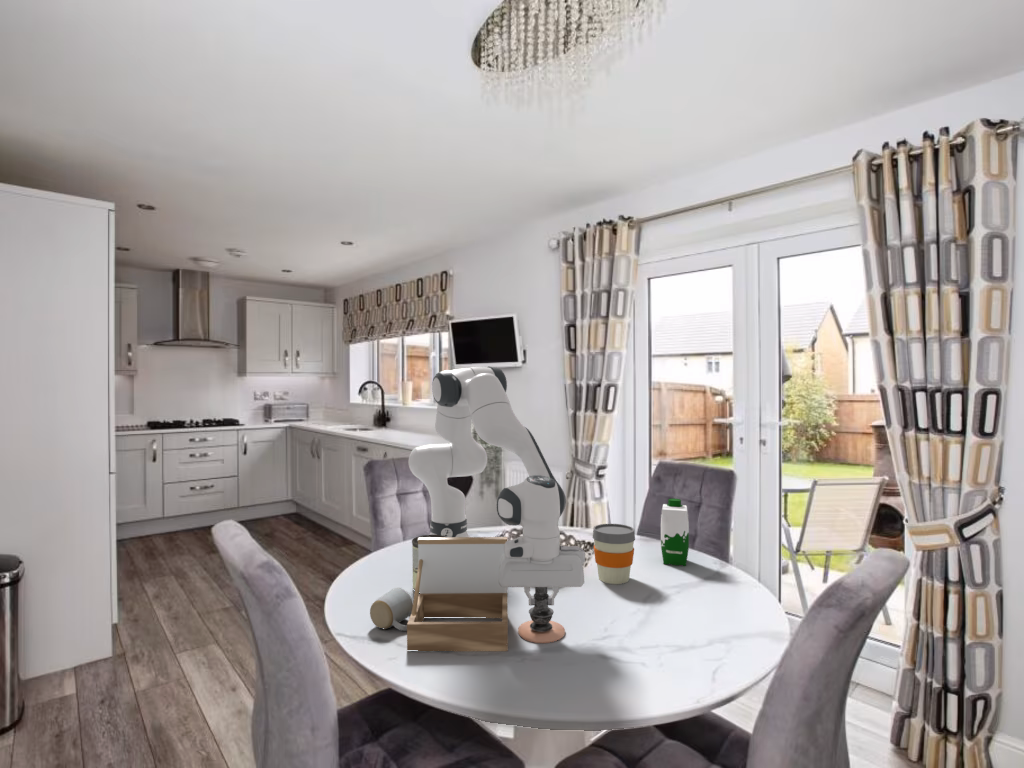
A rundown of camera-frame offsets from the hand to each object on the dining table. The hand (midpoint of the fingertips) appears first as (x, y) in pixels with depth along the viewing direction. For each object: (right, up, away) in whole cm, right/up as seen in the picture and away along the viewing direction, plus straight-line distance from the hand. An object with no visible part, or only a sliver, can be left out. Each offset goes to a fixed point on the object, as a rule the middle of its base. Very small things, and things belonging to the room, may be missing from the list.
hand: (541, 604), depth 129 cm
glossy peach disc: (0, -7, 0) cm, 7 cm away
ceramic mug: (-35, -7, +4) cm, 36 cm away
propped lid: (-19, -1, +2) cm, 19 cm away
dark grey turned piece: (0, -5, 0) cm, 5 cm away
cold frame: (-19, -7, 0) cm, 20 cm away
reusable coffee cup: (+24, -7, +35) cm, 43 cm away
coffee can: (-30, -7, +27) cm, 41 cm away
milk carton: (+47, -7, +50) cm, 69 cm away
